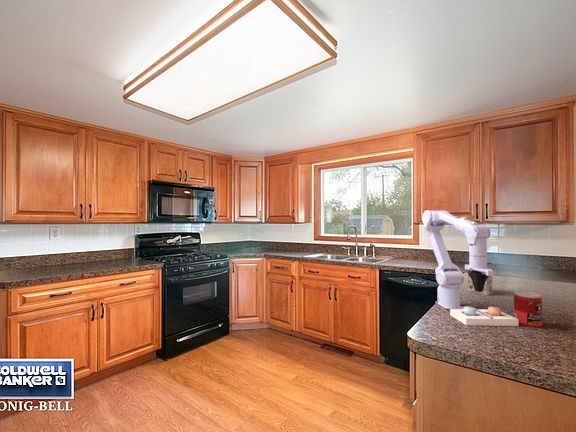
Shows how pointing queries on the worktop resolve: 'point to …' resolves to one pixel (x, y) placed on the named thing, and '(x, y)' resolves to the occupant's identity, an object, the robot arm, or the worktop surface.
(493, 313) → the orange rounded piece
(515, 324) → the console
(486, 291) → the coffee box
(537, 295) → the canned food
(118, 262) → the worktop surface
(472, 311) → the pale blue rounded piece
